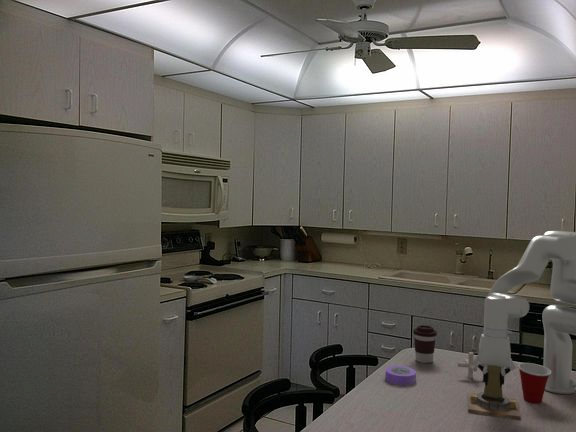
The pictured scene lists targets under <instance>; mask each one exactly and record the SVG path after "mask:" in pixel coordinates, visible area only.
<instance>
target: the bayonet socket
mask: <svg viewBox="0 0 576 432" xmlns="http://www.w3.org/2000/svg"><path fill="white" fill-rule="evenodd" d="M502 395H503V394H502ZM467 408H468V409H467V411H468V413H471V414H478V415H486V416H493V417H499V418H507V419H514V420H521V413H520V410H519V405H518V401H517V398H514V397H507V396H505V395H503V396H502V397H500V398H494V397H489V396H487V395H485V394H484V391H483V392H479V393H478V392H477V393H475V392H467Z"/></svg>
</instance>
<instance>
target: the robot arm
mask: <svg viewBox="0 0 576 432" xmlns="http://www.w3.org/2000/svg"><path fill="white" fill-rule="evenodd" d="M550 261H552V272H551V279H550V280H551V281H550V289H549V291H550V292H549V294H550V297H551V298H552V300H554V301H557V302H560V303H565V304H569V305H575V306H576V231H565V230H550V231H549V230H548V231H545V232H544V234H543V235H536V236H535V237H532V239H531V240H530V241H529V243H528V245H527V247H526V249H525V251H524V253H523V254H522V257H521V258H520V259H519V262H518V263H517V265H516V267H514V268H512V269H510V270H508V271H507V272H506V273H504V274H503V275H501V276H500V277H499V278H498V279H496V281H494V283H493V285H492V287H491V288H490V290H489V292H488V294H487V296H486V297H485V300H484V313H483V315H484V316H483V333H481V334H480V339H479V345H478V354H477V355H476V356H475V358H473V364H474V365H476V366H477V367H476V368H477V369H479V370H480V371H481V372H482V382H483V383H484V387H485V386H487V382H488V374H487V372H488V371H487V367H488V366H490V365H495V366H499V367H501V373H500V387H501V388H502V389H503V385H505V377H506V375H508V374H509V373H510V372H511V371H512V372H513V370H516V369H517V366H516V364H515V363H514V361H513V359H512V358H511V357H512V356H511V342H510V341H511V340H510V337H509V336H510V335H511V336H512V335H513V331H512V330H509V329H508V325H509V324H508V320H509V318H512V319H513V318H514V319H515V318H516V319H519V318H523V317H525V316H526V315H527V314H528V313H529V311H530V302H529V301H528V300H527V299H526V298H525V297H523V296H521V295H515V294H511V293H508V292H510V290H512V289H513V288H515V287H518V286H521V285H525V284H528V283H529V284H530V283H533V282H537V281H538V280H539V279H541V278H542V275H543V273H544V271H545V269H546V268H547V266H548V263H549V262H550ZM541 317H542V324H543V331H544V332H543V333H544V335H543V336H544V338H543V340H544V343H543V345H544V346H543V364H542V366H544V367H546V368H548V369H549V370H550V371H551V375H549V377H548V380H547V383H546V387H545V391H547V392H551V393H554V394H560V395H561V394H563V395H570V394H574V393H575V392H576V379H573V378H572V370H573V369H572V367H573V363H572V362H573V342H572V339H571V336H570V335H573V336H576V308H574V307H569V306H564V305H558V304H551V305H548V306H546V307H545V308H544V309H543V311H542V316H541ZM481 364H482V365H483V366H482V365H481Z"/></svg>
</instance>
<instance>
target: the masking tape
mask: <svg viewBox="0 0 576 432" xmlns="http://www.w3.org/2000/svg"><path fill="white" fill-rule="evenodd" d="M385 381H387V382H388V383H390V384H393V385H398V386H411V385H413V384H415V383H417V382H416V381H417V371H416V370H415V369H413V368H411V367H408V366H403V365H391V366H388V367H386V368H385Z"/></svg>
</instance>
